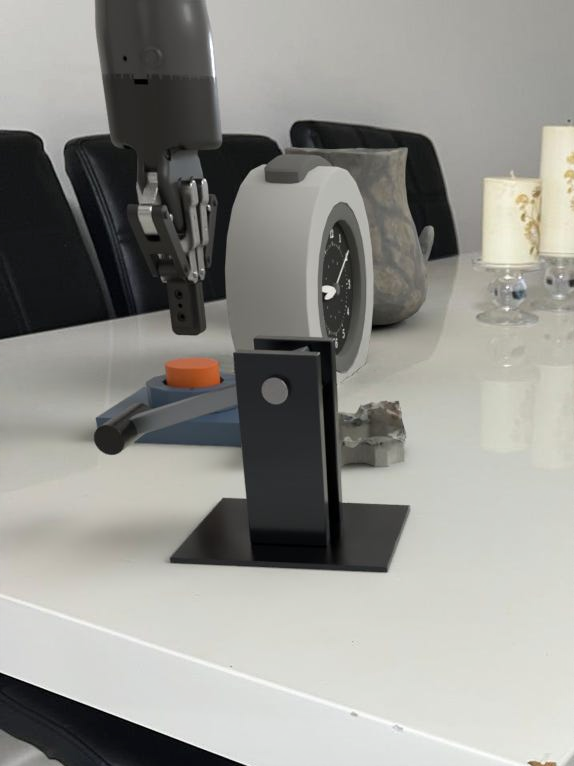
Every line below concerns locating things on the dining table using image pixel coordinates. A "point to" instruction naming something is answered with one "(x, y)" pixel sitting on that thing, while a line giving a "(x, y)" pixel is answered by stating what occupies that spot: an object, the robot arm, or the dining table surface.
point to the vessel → (386, 228)
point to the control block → (196, 431)
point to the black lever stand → (292, 473)
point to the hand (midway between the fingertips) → (189, 333)
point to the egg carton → (372, 435)
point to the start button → (192, 372)
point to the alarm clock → (301, 258)
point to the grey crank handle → (160, 417)
